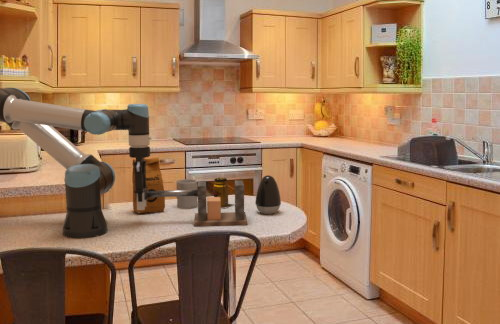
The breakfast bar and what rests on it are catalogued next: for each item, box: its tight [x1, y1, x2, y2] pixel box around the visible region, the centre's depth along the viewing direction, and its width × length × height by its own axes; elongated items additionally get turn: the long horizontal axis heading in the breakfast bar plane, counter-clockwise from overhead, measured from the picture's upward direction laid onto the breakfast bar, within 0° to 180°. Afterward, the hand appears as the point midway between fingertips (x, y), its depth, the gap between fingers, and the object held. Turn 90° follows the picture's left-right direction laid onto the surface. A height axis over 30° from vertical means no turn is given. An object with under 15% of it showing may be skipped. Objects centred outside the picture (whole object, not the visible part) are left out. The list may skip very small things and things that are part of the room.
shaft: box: [136, 188, 198, 200], centre depth 203 cm, size 24×4×4 cm, turn 94°
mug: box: [176, 178, 198, 210], centre depth 231 cm, size 12×8×11 cm
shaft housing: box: [193, 180, 248, 228], centre depth 205 cm, size 20×14×14 cm
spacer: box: [206, 196, 222, 220], centre depth 205 cm, size 5×7×7 cm
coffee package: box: [131, 157, 166, 214], centre depth 220 cm, size 10×12×22 cm
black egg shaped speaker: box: [254, 175, 282, 215], centre depth 217 cm, size 10×10×15 cm
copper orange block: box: [213, 177, 235, 209], centre depth 230 cm, size 7×8×12 cm
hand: (141, 208), depth 203 cm, fingers closed on shaft, 4 cm apart
